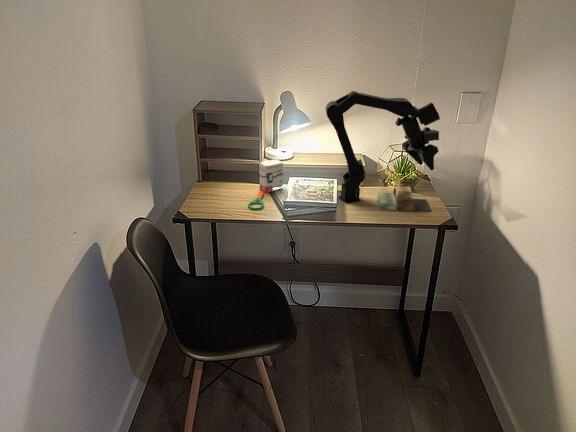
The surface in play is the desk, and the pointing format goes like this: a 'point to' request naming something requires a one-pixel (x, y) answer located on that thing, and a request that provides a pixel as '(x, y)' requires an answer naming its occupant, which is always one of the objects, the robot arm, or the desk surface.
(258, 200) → the magnifying glass
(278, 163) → the ink box
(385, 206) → the tunnel course
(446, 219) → the desk surface
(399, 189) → the maple block
